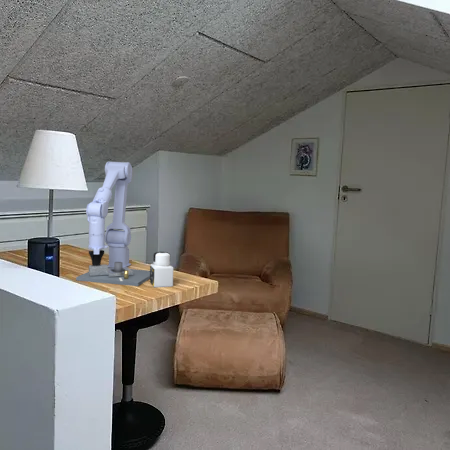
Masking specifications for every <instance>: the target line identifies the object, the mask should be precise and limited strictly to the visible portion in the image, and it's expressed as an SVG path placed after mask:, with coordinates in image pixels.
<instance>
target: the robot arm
mask: <svg viewBox="0 0 450 450" xmlns="http://www.w3.org/2000/svg"><path fill="white" fill-rule="evenodd" d="M104 174H105V177H104V180H103V184H102V186H101V187H99V188H98V189H97V191H96V193H95V195H94V197H93V199H92V201H90V203H87V205H86V209H85V212H86V217H87V222H88V246H87V248H88V249H89V251H88V254H89V257H90V259H91V265H102V264H101V263H102V258H103V257H104V255H105V250H104V249H108V264H106V265H107V266H108V267H113V268H114V263H115V262H123V265H122V267H129V266H131V265H132V263H131V262H130V248H129V247H128V246H129V245H130V244H131V241H132V234H131V231H132V229H131V228H130V226H129V225H127V224H126V209H127V200H128V199H127V198H128V196H127V195H128V188H129V187H128V186H129V184H130V183H132V179H133V167H132V164H131V162H129V161H127V162H124V161H121V162H120V161H107V162H106V163H105V165H104ZM114 186H115V189H114V190H115V191H114V201H113V212H112V213H113V215H112V222H111V223H110V224H108V225H107V226H106V225H105V224H106V218H107V216H108V215H109V214H108V213H109V203H110V201H111V198H112V196H113V192H112V189H113V188H114ZM105 229H106V230H105ZM105 244H106V245H105Z"/></svg>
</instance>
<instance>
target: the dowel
mask: <svg viewBox="0 0 450 450" xmlns="http://www.w3.org/2000/svg"><path fill="white" fill-rule="evenodd" d="M128 277H129V271H128V270H124V279H128Z"/></svg>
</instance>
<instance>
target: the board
mask: <svg viewBox="0 0 450 450" xmlns="http://www.w3.org/2000/svg"><path fill="white" fill-rule="evenodd" d="M122 265H123V262H115V263H114V272H122ZM108 268H113V267H108ZM129 269H130V270H131V271H133V272H134V273H133V275H129V277H128V279H124V276H114V277H109V276H108V275H97V276H90V275H89V271H87V272H85V273H83V274H80V275H78V276H76V278H75V280H76V281H78V282H79V281H80V282H88V283H89V282H90V283H101V284H110V285H121V286H131V287H133V286H134V287H139V286H141V285H142V284H144V283H146V282H147V281H150V270H146V269H134V268H129Z"/></svg>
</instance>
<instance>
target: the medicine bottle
mask: <svg viewBox="0 0 450 450" xmlns="http://www.w3.org/2000/svg"><path fill="white" fill-rule="evenodd" d="M152 258H153V263H151V264H150V265H149V271H150V279H149V283H150V285H151V286H152V287H153V288H166V287H167V288H169V287H173V286H174V267H173V265H171V254H170V252H168V251H156V252H154V253H153V257H152Z"/></svg>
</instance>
